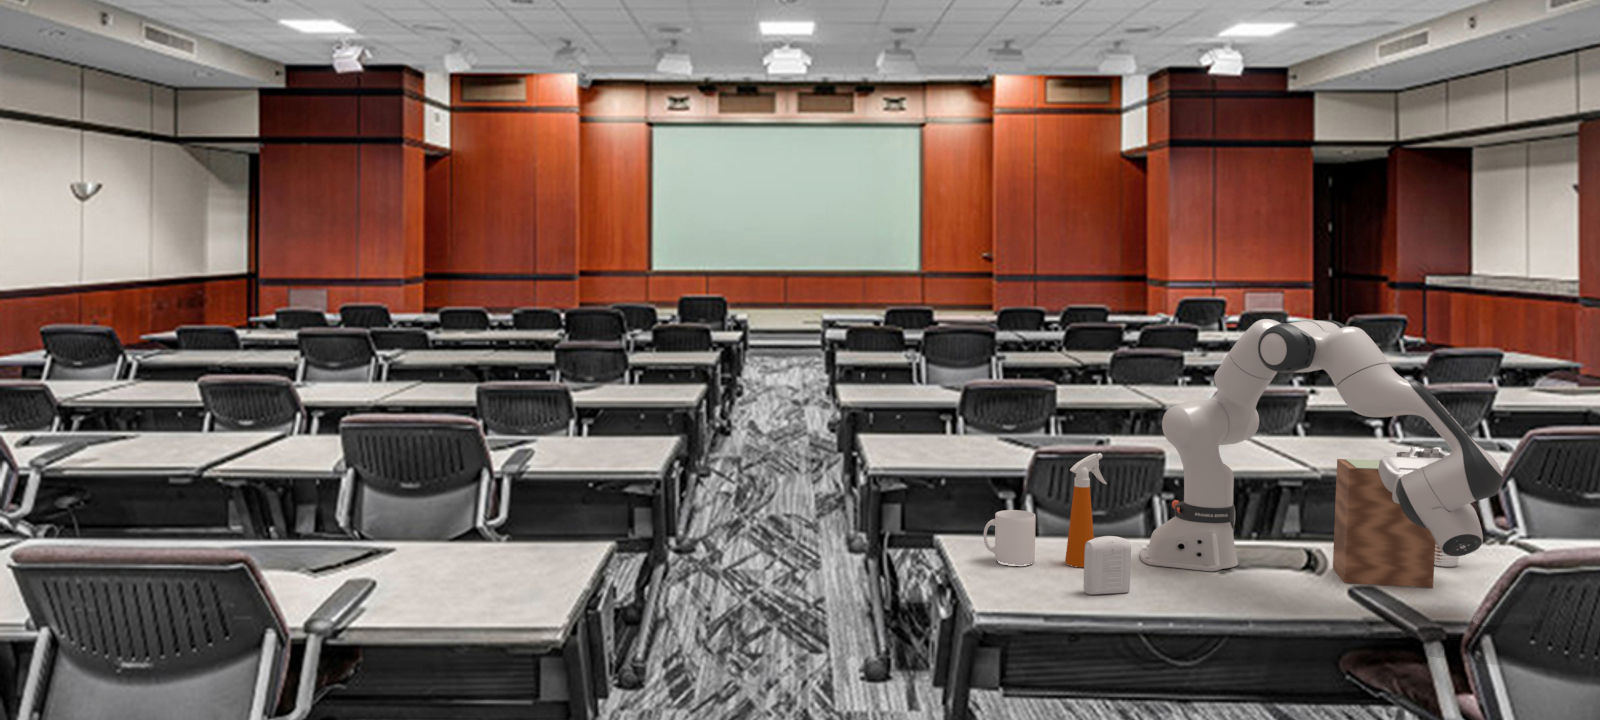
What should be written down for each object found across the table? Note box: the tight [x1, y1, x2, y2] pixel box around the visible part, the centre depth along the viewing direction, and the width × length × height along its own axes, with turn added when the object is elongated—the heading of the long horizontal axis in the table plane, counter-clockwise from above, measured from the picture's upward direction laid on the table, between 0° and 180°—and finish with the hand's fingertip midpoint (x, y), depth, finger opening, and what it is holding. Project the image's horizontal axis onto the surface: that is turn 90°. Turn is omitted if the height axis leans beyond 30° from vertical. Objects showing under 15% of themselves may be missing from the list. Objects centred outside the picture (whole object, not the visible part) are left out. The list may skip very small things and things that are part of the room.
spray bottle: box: [1064, 452, 1108, 567], centre depth 271 cm, size 7×11×26 cm, turn 116°
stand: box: [1332, 458, 1435, 589], centre depth 258 cm, size 18×12×26 cm, turn 77°
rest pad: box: [1344, 458, 1380, 469], centre depth 257 cm, size 7×11×1 cm, turn 167°
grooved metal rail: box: [1396, 447, 1439, 458], centre depth 248 cm, size 20×3×3 cm, turn 167°
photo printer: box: [1083, 535, 1132, 595], centre depth 248 cm, size 10×4×12 cm, turn 103°
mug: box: [983, 509, 1036, 565], centre depth 273 cm, size 10×12×12 cm
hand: (1425, 449), depth 243 cm, fingers closed on grooved metal rail, 3 cm apart
